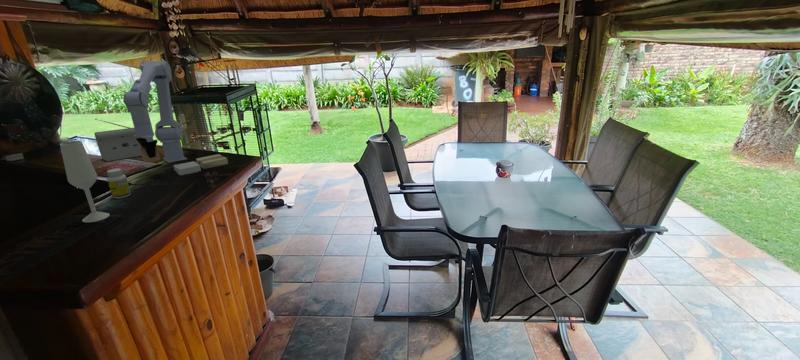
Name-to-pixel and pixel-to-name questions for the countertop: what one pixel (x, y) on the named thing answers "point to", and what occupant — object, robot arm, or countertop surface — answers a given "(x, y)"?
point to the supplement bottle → (118, 183)
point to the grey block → (187, 168)
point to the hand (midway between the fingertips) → (150, 155)
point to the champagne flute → (81, 174)
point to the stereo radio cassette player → (118, 143)
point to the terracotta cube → (146, 157)
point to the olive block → (211, 161)
